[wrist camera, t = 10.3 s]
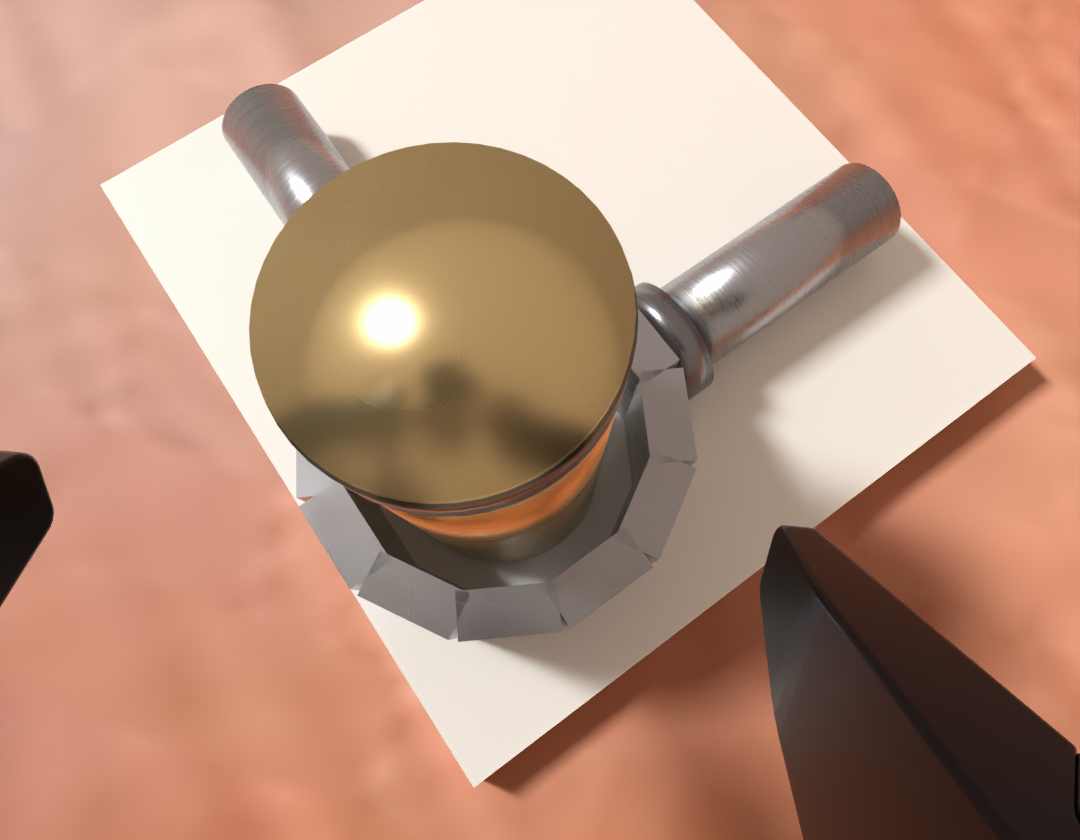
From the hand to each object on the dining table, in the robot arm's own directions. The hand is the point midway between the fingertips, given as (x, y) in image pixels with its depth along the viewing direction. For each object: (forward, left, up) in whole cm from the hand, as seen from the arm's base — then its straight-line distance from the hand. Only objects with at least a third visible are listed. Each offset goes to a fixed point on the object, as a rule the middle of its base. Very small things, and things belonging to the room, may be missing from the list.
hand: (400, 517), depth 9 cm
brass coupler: (+2, -2, -10) cm, 10 cm away
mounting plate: (+6, -6, -11) cm, 14 cm away
